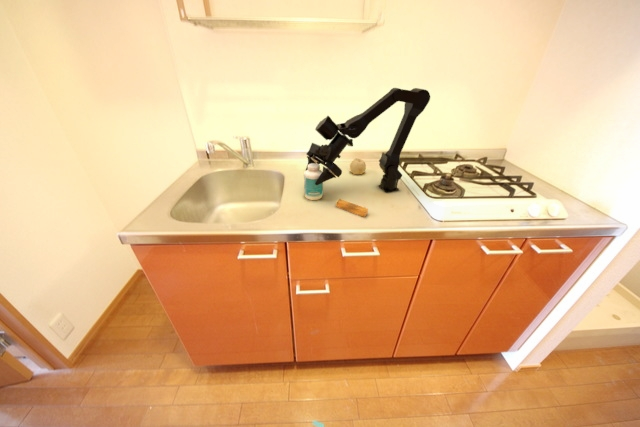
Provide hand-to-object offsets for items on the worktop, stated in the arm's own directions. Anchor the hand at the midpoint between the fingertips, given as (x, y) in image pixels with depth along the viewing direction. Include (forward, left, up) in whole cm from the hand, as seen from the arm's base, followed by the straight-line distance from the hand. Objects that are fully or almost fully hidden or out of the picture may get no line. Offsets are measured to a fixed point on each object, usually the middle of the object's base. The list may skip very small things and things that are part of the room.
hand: (310, 180), depth 89 cm
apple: (-30, -16, -8) cm, 35 cm away
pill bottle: (-2, 0, -8) cm, 8 cm away
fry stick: (-11, +15, -8) cm, 20 cm away
